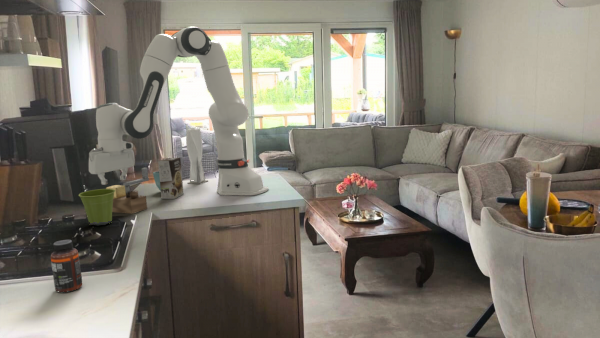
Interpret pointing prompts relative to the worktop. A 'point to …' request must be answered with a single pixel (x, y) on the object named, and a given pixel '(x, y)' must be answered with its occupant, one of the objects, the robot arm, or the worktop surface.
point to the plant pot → (98, 204)
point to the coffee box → (170, 178)
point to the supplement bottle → (66, 266)
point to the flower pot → (157, 179)
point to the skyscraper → (195, 155)
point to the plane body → (129, 203)
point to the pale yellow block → (118, 190)
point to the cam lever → (136, 181)
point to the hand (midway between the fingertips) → (114, 182)
